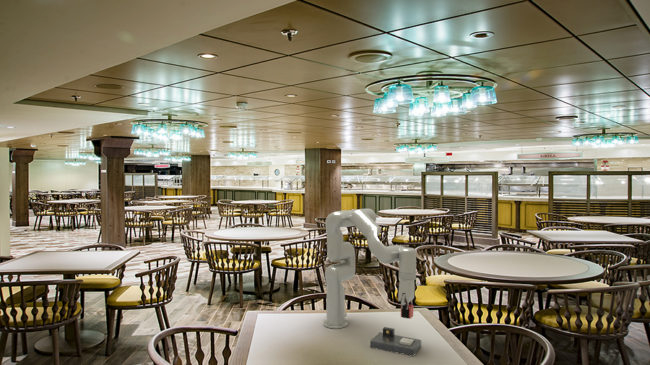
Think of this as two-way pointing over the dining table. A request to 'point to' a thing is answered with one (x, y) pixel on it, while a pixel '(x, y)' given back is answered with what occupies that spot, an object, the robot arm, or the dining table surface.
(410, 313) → the red block
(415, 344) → the panel
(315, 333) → the dining table surface
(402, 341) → the button
